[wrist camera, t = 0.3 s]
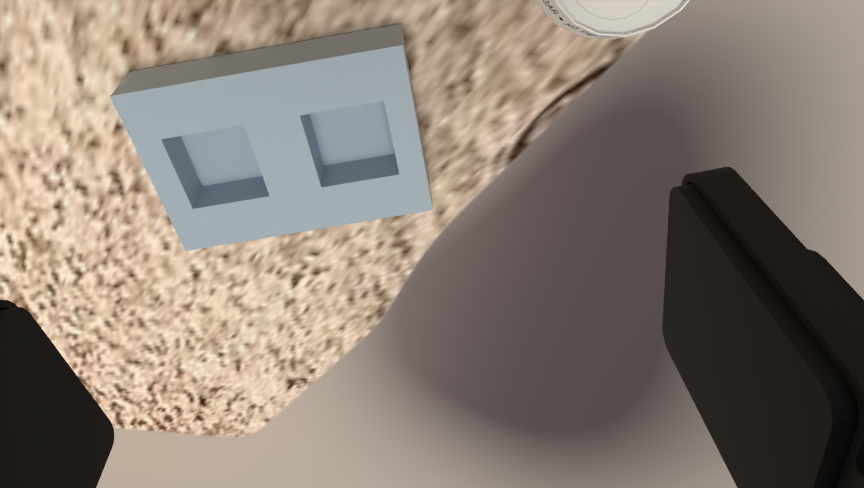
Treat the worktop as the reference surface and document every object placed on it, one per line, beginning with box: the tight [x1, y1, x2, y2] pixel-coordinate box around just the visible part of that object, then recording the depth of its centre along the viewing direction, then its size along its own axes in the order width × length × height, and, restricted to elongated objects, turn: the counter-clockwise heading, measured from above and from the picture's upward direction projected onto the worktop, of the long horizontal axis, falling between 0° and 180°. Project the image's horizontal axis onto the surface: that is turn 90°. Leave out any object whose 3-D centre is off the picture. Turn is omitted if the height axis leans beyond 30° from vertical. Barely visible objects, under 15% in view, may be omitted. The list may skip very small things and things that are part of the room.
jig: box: [110, 24, 433, 251], centre depth 44 cm, size 12×18×4 cm, turn 99°
